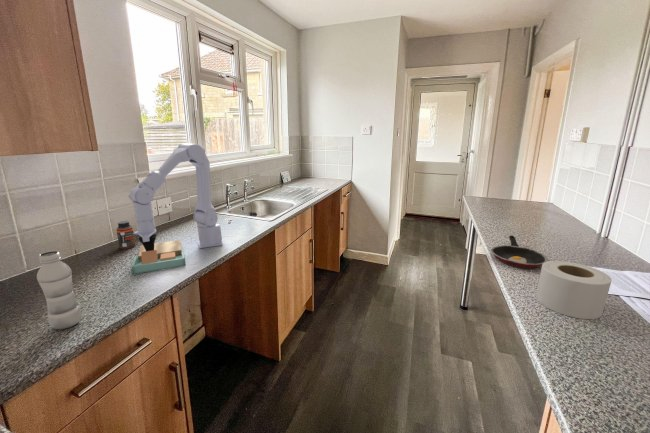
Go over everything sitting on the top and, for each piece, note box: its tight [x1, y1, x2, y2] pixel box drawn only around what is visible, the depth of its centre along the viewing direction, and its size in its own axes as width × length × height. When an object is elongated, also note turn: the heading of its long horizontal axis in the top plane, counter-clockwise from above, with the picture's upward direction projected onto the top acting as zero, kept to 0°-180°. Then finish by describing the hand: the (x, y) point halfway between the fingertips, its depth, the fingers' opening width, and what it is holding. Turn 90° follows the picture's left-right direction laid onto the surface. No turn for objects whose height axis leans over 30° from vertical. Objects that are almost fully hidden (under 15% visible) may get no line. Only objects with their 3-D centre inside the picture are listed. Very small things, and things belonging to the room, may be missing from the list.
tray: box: [131, 248, 186, 275], centre depth 114 cm, size 17×10×3 cm, turn 116°
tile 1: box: [141, 250, 158, 264], centre depth 113 cm, size 5×5×2 cm
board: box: [137, 239, 182, 262], centre depth 125 cm, size 15×13×2 cm
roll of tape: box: [535, 260, 612, 320], centre depth 87 cm, size 16×15×11 cm
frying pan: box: [490, 234, 549, 270], centre depth 124 cm, size 19×32×4 cm, turn 155°
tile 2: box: [160, 252, 176, 261], centre depth 117 cm, size 5×5×2 cm
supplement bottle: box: [116, 220, 136, 250], centre depth 130 cm, size 6×6×11 cm
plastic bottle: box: [36, 250, 82, 330], centre depth 76 cm, size 6×7×20 cm
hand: (150, 253), depth 116 cm, fingers closed
